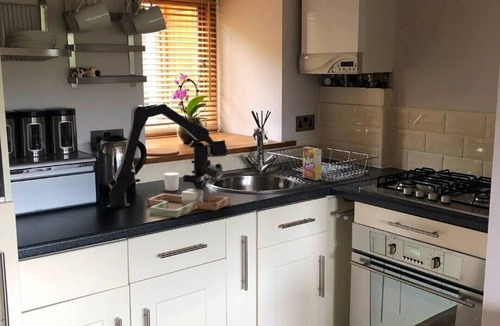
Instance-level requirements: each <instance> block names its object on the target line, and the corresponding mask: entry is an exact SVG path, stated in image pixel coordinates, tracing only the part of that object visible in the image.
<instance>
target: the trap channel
mask: <svg viewBox="0 0 500 326" xmlns="http://www.w3.org/2000/svg"><path fill="white" fill-rule="evenodd" d="M146 202H147V206H149V215H155V216H162V217H163V216H164V217H169V216H170V217H171V218H179V217H182V216H183V215H186V214H189V212H192V211H194V210H196V209H202V210H209V211H218V210H219V209H222V208H223V207H226V206H228V205H230V197H228V196H227V197H226V196H216V195H211V194H209V195H207V201H203V202H201V201H195V202H193V203H190V204H188V205H186V204H185V205H184V206H181V207H179V208H177V209H170V208H169V202H175V203H182V194H180V195H179V194H171V193H164V192H163V193H160V194H158V195H156V196H153V197H150V198H148V199H146ZM170 217H169V218H170Z"/></svg>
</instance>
